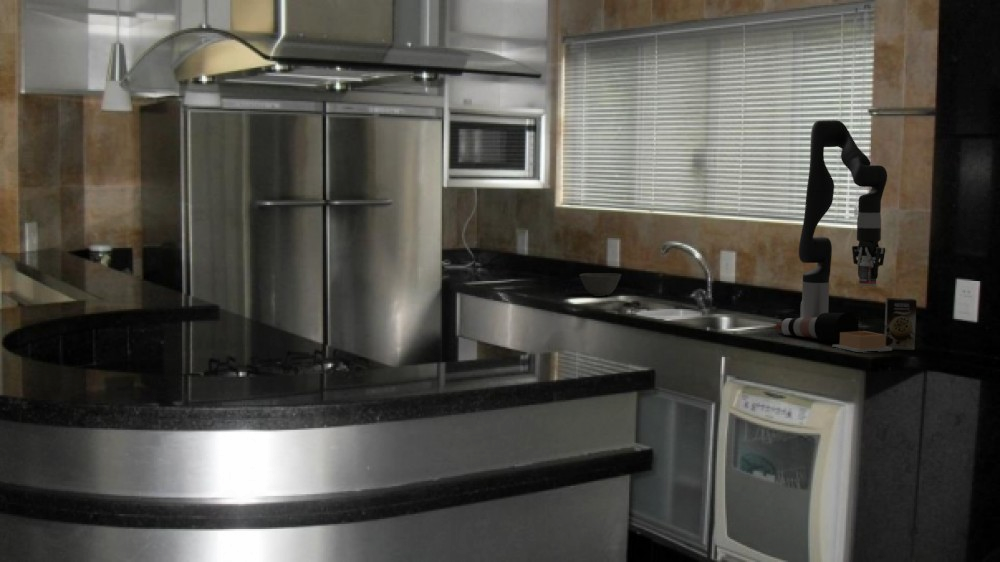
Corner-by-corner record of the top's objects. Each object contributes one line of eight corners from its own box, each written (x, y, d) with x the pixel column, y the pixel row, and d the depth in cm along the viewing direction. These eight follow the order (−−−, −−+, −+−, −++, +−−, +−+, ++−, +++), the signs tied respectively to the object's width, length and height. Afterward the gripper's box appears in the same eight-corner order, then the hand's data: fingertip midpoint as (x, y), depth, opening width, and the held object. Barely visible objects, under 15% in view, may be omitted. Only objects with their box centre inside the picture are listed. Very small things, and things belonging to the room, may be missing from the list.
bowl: (622, 294, 549) (623, 272, 548) (619, 299, 530) (619, 276, 529) (582, 293, 552) (582, 272, 551) (576, 298, 534) (577, 275, 533)
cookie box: (885, 349, 388) (887, 299, 386) (883, 346, 394) (885, 297, 392) (915, 350, 386) (917, 300, 384) (912, 347, 392) (914, 298, 391)
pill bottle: (870, 286, 391) (871, 256, 391) (855, 285, 395) (856, 255, 394) (879, 285, 395) (880, 255, 394) (864, 284, 399) (865, 255, 398)
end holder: (832, 347, 391) (832, 332, 390) (867, 345, 396) (868, 330, 395) (856, 352, 379) (856, 337, 379) (892, 350, 385) (892, 335, 384)
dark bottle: (783, 345, 426) (791, 319, 428) (853, 348, 396) (862, 320, 398) (763, 334, 421) (771, 308, 423) (832, 335, 392) (841, 307, 394)
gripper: (893, 227, 388) (891, 279, 390) (863, 225, 402) (862, 276, 403) (874, 227, 385) (873, 280, 387) (845, 226, 399) (844, 277, 400)
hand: (867, 278), depth 395 cm, fingers closed on pill bottle, 5 cm apart
